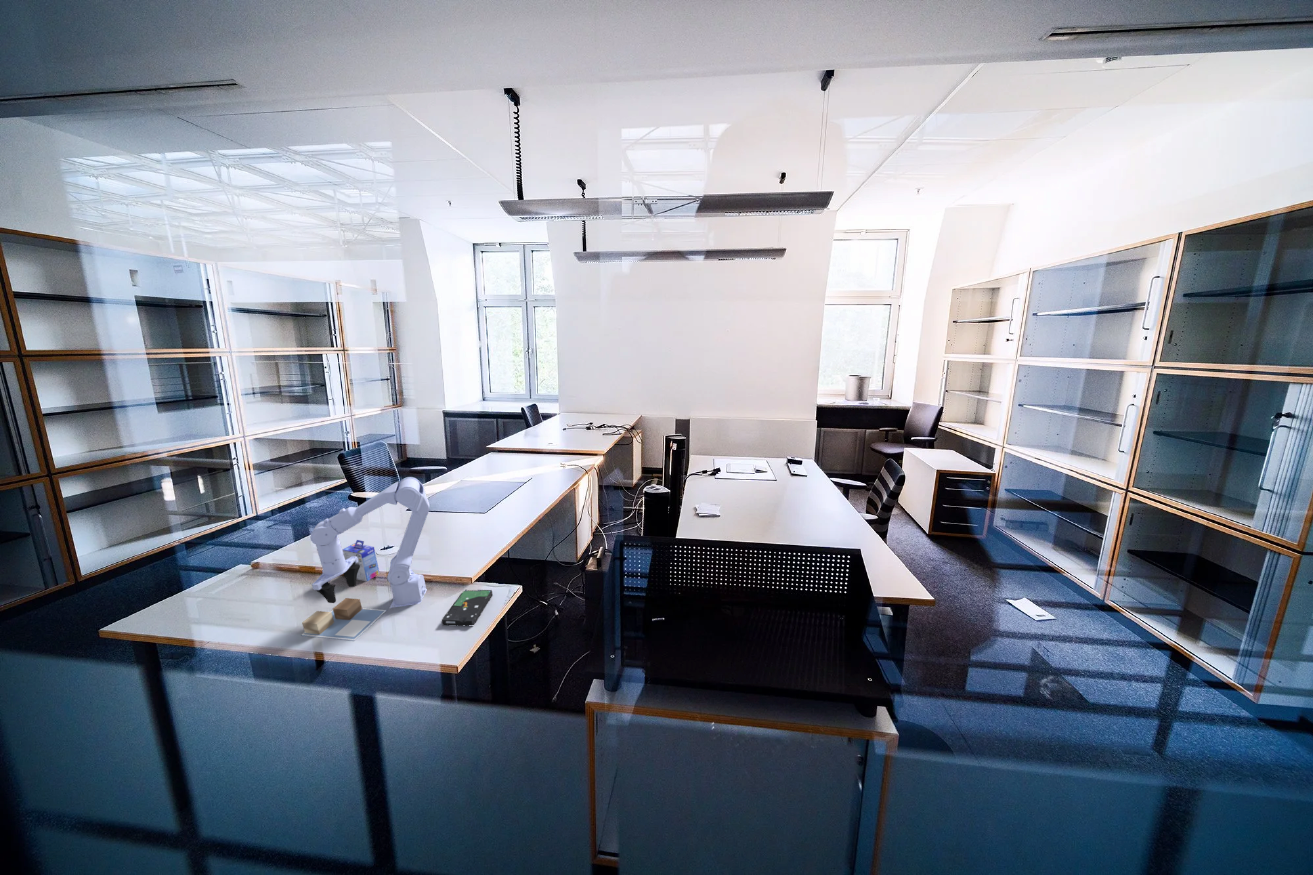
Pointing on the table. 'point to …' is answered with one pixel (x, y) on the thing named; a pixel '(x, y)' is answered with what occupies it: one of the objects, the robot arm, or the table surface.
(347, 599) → the walnut block
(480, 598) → the disk drive
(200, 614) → the table surface
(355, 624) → the mat
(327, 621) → the maple block
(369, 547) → the ink cartridge box
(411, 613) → the table surface
